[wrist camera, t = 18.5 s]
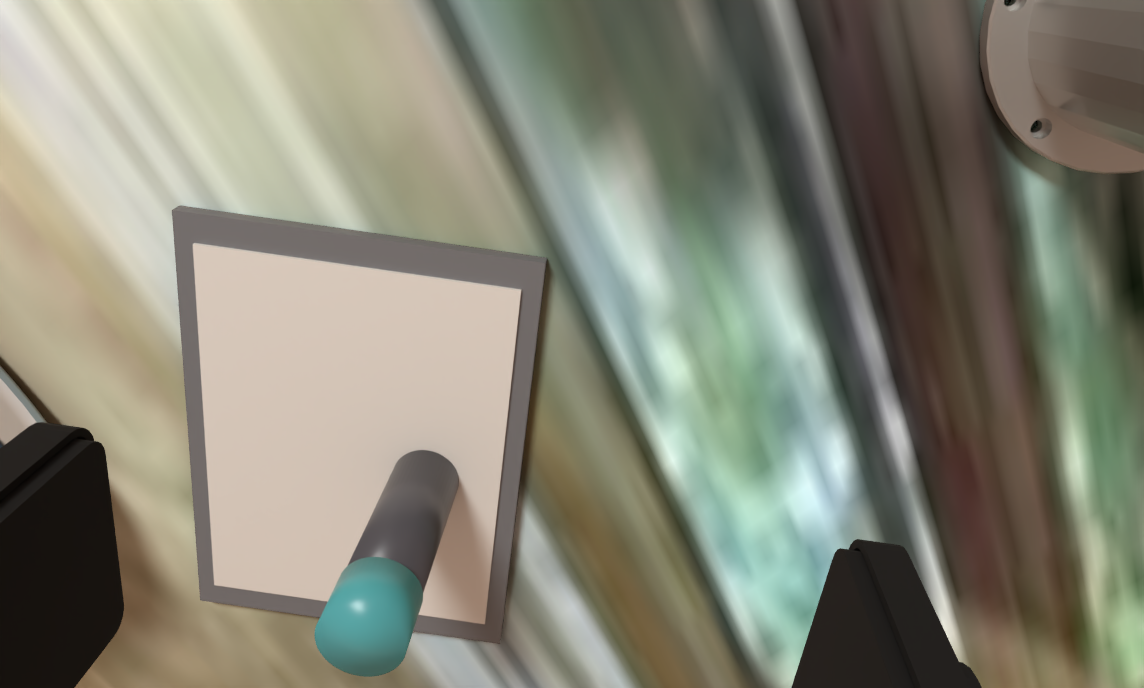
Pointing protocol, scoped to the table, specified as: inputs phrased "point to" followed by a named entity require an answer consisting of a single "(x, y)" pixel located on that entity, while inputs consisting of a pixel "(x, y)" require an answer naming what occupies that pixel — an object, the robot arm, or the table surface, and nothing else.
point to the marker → (389, 569)
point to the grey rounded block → (14, 409)
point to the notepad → (350, 404)
